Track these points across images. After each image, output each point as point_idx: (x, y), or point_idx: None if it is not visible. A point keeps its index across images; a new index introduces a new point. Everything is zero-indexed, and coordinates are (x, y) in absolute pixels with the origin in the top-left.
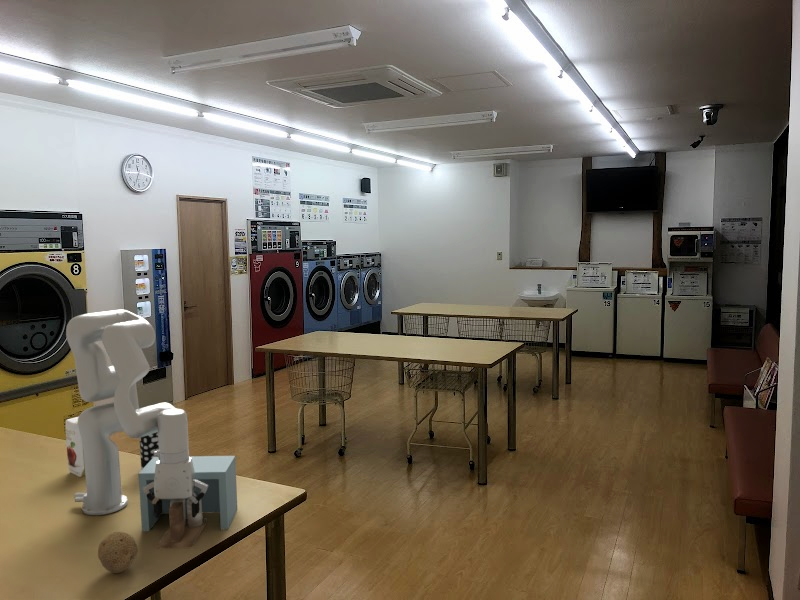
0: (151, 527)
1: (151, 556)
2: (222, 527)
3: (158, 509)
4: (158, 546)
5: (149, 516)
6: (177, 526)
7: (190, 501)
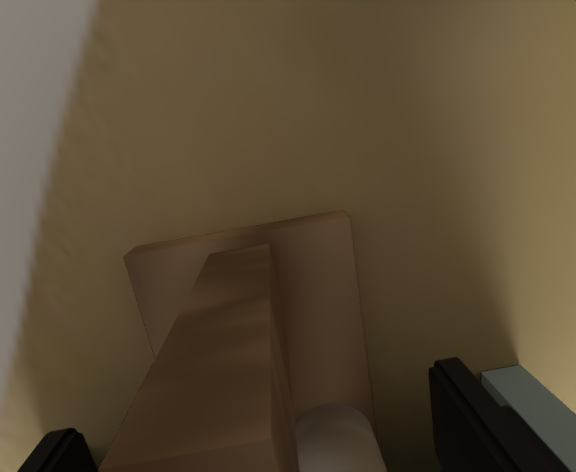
0: None
1: (336, 109)
2: None
3: (481, 444)
4: (341, 212)
5: None
6: (199, 302)
7: None
